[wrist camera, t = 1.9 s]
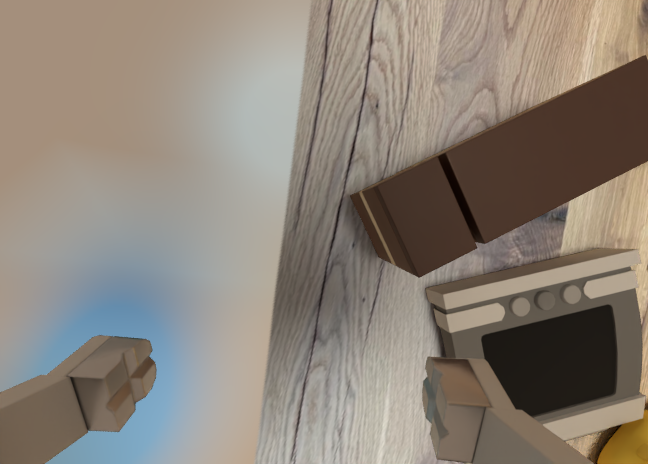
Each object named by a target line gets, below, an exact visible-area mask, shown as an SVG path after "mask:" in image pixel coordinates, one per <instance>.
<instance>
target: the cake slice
mask: <svg viewBox="0 0 648 464" xmlns="http://www.w3.org/2000/svg"><path fill="white" fill-rule="evenodd" d="M350 197H351V199H352V201H353V203H354V206H355V208H356V210H357V212H358V214H359V216H360V218H361V220H362V223H363V225H364V227H365V229H366V231H367V233H368V235H369V237H370V240H371V242H372V244H373V246H374V248H375V250H376V252H377V254H378V257H379V258H381V259H383V260H385V261H387V262H389V263H391V264H393V265H395V266H397V267H399V268H401V269H403V270H405V271H407V272H409V273H411V274H413V275H415V276H417V277H422V276H423V275H425V274H427V273H429V272H431V271H433V270H435V269H437V268H439V267H441V266H443V265H445V264H447V263H449V262H451V261H453V260H455V259H457V258H459V257H461V256H463V255H465V254H467V253H469V252H471V251H473V250H475V249H476V248H477V246H476V244H475V241H474V239H473V237H472V234H471V232H470V230H469V228H468V225H467V223H466V221H465V218H464V216H463V214H462V212H461V209H460V207H459V205H458V203H457V200H456V198H455V196H454V193H453V191H452V189H451V187H450V184H449V182H448V180H447V177H446V175H445V173H444V171H443V168H442V166H441V164H440V161H439V159H438V157H435V158H432V159H430V160H427V161H425V162H423V163H420V164H418V165H416V166H413V167H411V168H408V169H406V170H404V171H401V172H399V173H397V174H394V175H392V176H390V177H387V178H385V179H383V180H381V181H379V182H377V183H375V184H373V185H371V186H369V187H367V188H365V189H363V190H361V191H359V192H357V193H354V194H352V195H350Z"/></svg>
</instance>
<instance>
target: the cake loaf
mask: <svg viewBox="0 0 648 464" xmlns="http://www.w3.org/2000/svg"><path fill="white" fill-rule="evenodd" d="M435 157H438V159H439V161H440V164H441V166H442V168H443V171H444V173H445V175H446V177H447V180H448V182H449V184H450V187H451V189H452V191H453V193H454V196H455V198H456V200H457V203H458V205H459V207H460V209H461V212H462V214H463V216H464V218H465V221H466V223H467V225H468V228H469V230H470V232H471V234H472V237H473V239H474V241H475V242H478V243H483V244H486V243H488V242H490V241H492V240H494V239H496V238H498V237H500V236H501V235H503V234H505V233H507V232H509V231H511V230H513V229H515V228H517V227H519V226H521V225H523V224H525V223H527V222H529V221H531V220H533V219H535V218H537V217H539V216H541V215H543V214H545V213H547V212H549V211H551V210H553V209H554V208H556V207H558V206H560V205H562V204H564V203H566V202H568V201H570V200H572V199H574V198H576V197H578V196H580V195H582V194H584V193H586V192H588V191H590V190H592V189H594V188H596V187H598V186H600V185H602V184H604V183H606V182H608V181H609V180H611V179H613V178H615V177H617V176H619V175H621V174H623V173H625V172H627V171H629V170H631V169H633V168H635V167H637V166H639V165H641V164H643V163H645V162H647V161H648V60H647V57H646V55H644V56H642V57H640V58H638V59H635V60H633V61H631V62H629V63H627V64H625V65H622V66H620V67H618V68H616V69H614V70H612V71H609V72H607V73H605V74H603V75H601V76H599V77H596V78H594V79H592V80H590V81H588V82H586V83H583V84H581V85H579V86H577V87H575V88H573V89H570V90H568V91H566V92H564V93H562V94H559V95H557V96H555V97H553V98H551V99H549V100H546V101H544V102H542V103H540V104H538V105H536V106H533V107H531V108H529V109H527V110H525V111H523V112H521V113H519V114H517V115H515V116H513V117H511V118H509V119H507V120H505V121H503V122H500V123H498V124H496V125H494V126H492V127H490V128H488V129H486V130H484V131H482V132H480V133H478V134H476V135H474V136H472V137H470V138H467V139H465V140H463V141H461V142H459V143H457V144H455V145H453V146H451V147H449V148H447V149H445V150H443V151H441V152H439V153H437V154H435V155H432V156H430V157H428V158H426V159H424V160H422V161H420V162H418V163H416V164H414V165H412V166H410V167H408V168H411V167H413V166H416V165H418V164H420V163H423V162H425V161H427V160H430V159H432V158H435ZM408 168H406V169H408ZM406 169H404V170H406ZM404 170H402V171H404ZM399 172H401V171H399ZM399 172H397V173H399ZM397 173H396V174H397Z"/></svg>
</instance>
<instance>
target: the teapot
mask: <svg viewBox="0 0 648 464" xmlns="http://www.w3.org/2000/svg"><path fill="white" fill-rule="evenodd" d="M597 464H648V410H644V414H643V418H642V419H639V420H635V421H632V422H628V423H624V424H623V425H622V426H621V427H620V428H619V429H618V430H617V431H616V432H615V434H614V435H613V436H612V437H611V438H610V440H609V441H608V443H607V444H606V445H605V447H604V448H603V450H602V452H601V453H600V455H599V458H598V462H597Z"/></svg>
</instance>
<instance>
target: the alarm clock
mask: <svg viewBox="0 0 648 464" xmlns="http://www.w3.org/2000/svg"><path fill="white" fill-rule="evenodd" d="M638 264H642V263H641V259H640V255H639V250H638V249H610V248H598V249H593V250H589V251H585V252H580V253H576V254H572V255H567V256H563V257H559V258H554V259H550V260H545V261H541V262H537V263H532V264H528V265H524V266H519V267H515V268H511V269H506V270H502V271H498V272H493V273H489V274H484V275H480V276H476V277H471V278H467V279H463V280H458V281H454V282H450V283H445V284H441V285H437V286H432V287H428V288H426V292H427V297H428V301H429V302H431V303H433V304H435V306H436V308H434V313H435V318H436V322H437V325H438V326H440V329H441V334H442V338H443V343H444V348H445V352H446V357H447V358H462V359H465V358H471V359H485V360H486V361H487V362H488V363H489V365H490V367H491V368H492V370H493V372H494V374H495V375H496V377H497V379H498V380H499V382H500V384H501V385H502V387H503V389H504V390H505V392H506V394H507V395H508V397H509V399H510V401H511V402H512V404H513V406H514V407H515V409H516V410H523V411H524V412H525V413H527V414H528V415H529V416H531V417H532V418H534V419H535V420H536V421H538V422H539V423H540V424H542V425H543V426H544V427H546V428H547V429H548V430H550V431H551V432H552V433H554V434H555V435H556V436H558V437H559V438H561V439H562V440H563V441H569V440H572V439H576V438H579V437H583V436H586V435H590V434H594V433H597V432H601V431H604V430H607V429H608V428H610V427H614V426H617V425H621V424H624V423H628V422H632V421H635V420H639V419H642V418H643V414H644V407H645V400H646V396H645V395H643V394H642V393H640V392H639V390H640V381H641V372H642V332H641V319H640V312H639V307H638V301H637V295H636V290H635V288H638V287H639V286H638V281H637V276H636V272H635V270H631V267H630V266H634V265H638ZM463 463H464V462H463ZM464 464H473V463H464Z"/></svg>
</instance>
